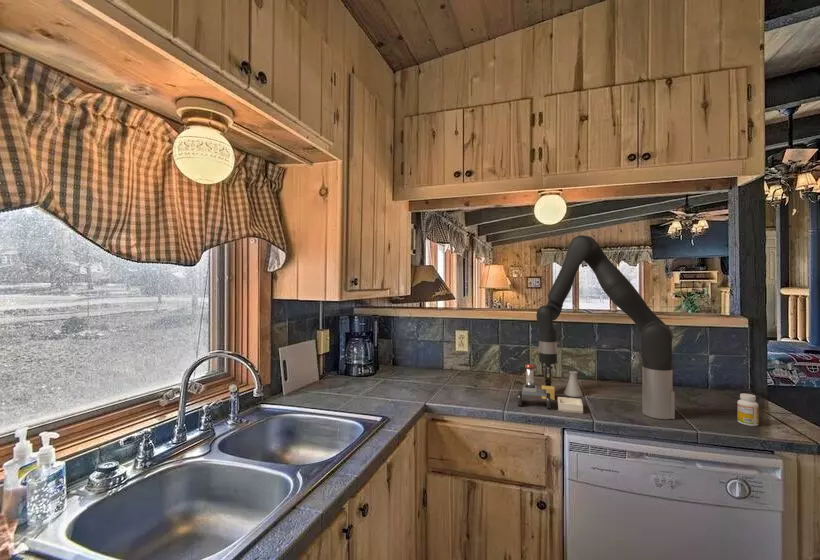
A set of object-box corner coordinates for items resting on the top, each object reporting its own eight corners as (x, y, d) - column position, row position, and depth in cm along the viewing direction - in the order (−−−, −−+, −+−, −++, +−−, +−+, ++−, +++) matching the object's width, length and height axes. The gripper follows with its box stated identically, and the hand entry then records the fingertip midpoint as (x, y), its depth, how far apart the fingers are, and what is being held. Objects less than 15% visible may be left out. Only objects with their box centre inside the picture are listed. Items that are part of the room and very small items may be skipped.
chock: (554, 396, 160) (554, 386, 160) (554, 400, 155) (554, 389, 155) (541, 395, 161) (541, 385, 161) (541, 398, 157) (541, 388, 157)
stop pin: (534, 389, 150) (534, 364, 150) (534, 392, 147) (534, 366, 147) (525, 388, 151) (525, 363, 151) (525, 391, 148) (524, 365, 148)
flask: (571, 398, 157) (571, 374, 157) (560, 393, 164) (560, 370, 164) (586, 397, 159) (586, 373, 159) (574, 392, 166) (574, 369, 166)
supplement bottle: (748, 420, 132) (748, 392, 132) (763, 426, 127) (763, 397, 127) (733, 420, 132) (733, 392, 132) (747, 426, 127) (747, 397, 127)
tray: (580, 406, 147) (580, 398, 147) (583, 413, 139) (583, 405, 139) (557, 404, 150) (557, 396, 150) (558, 411, 142) (558, 403, 142)
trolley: (550, 403, 150) (550, 385, 150) (550, 410, 143) (550, 391, 143) (518, 400, 154) (518, 382, 154) (517, 407, 147) (517, 388, 147)
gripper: (557, 355, 156) (557, 397, 156) (556, 349, 168) (557, 388, 168) (538, 353, 158) (538, 395, 158) (539, 348, 171) (539, 386, 171)
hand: (548, 391), depth 163 cm, fingers closed
